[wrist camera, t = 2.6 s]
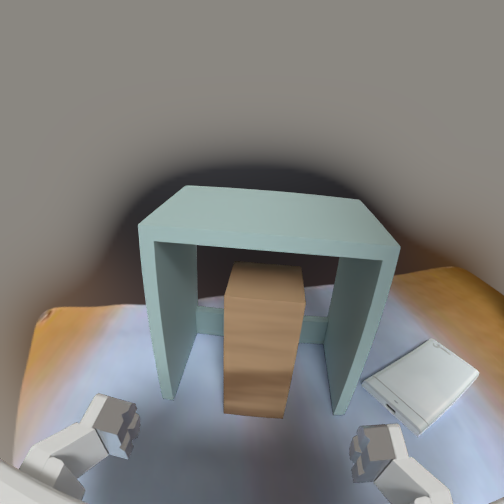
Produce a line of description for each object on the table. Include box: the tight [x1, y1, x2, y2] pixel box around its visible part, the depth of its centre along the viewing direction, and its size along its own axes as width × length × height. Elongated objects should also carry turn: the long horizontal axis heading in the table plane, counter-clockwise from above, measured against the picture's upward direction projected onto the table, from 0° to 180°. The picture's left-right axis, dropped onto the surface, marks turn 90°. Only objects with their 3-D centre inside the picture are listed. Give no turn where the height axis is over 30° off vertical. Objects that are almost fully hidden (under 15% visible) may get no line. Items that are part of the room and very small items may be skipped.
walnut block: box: [224, 261, 306, 419], centre depth 24 cm, size 5×5×12 cm
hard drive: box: [362, 339, 479, 437], centre depth 27 cm, size 2×8×12 cm
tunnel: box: [138, 186, 401, 415], centre depth 26 cm, size 11×16×16 cm
